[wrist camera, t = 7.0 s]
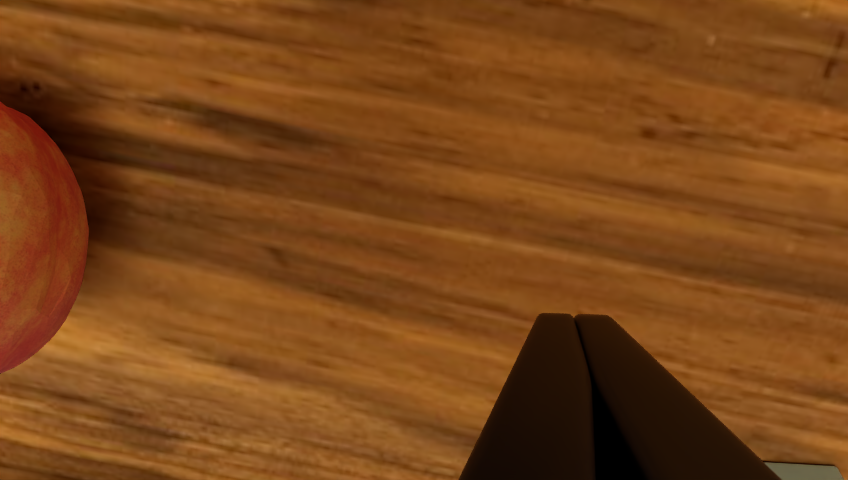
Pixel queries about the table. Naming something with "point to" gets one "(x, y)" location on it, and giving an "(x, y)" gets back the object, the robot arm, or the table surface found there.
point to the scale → (804, 471)
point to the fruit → (36, 238)
